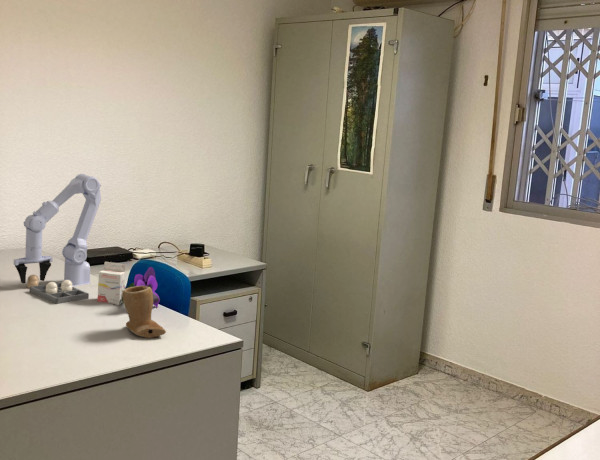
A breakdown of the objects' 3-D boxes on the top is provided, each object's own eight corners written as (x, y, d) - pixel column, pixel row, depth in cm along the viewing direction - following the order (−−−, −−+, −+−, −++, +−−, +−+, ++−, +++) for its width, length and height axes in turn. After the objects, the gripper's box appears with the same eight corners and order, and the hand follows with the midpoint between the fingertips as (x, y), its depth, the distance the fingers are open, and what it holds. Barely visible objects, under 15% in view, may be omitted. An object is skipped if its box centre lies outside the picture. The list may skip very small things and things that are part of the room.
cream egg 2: (68, 292, 248) (68, 278, 247) (74, 294, 246) (74, 280, 245) (58, 293, 245) (59, 279, 244) (64, 296, 242) (64, 281, 242)
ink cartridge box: (96, 302, 240) (98, 263, 237) (102, 299, 244) (103, 261, 242) (119, 305, 239) (121, 266, 236) (124, 302, 244) (126, 263, 241)
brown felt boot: (116, 326, 216) (118, 282, 213) (151, 323, 222) (153, 280, 220) (129, 341, 203) (132, 295, 201) (166, 338, 209) (169, 292, 207)
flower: (117, 323, 234) (147, 312, 230) (102, 284, 234) (132, 273, 230) (140, 313, 248) (168, 303, 243) (126, 277, 248) (154, 265, 243)
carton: (61, 288, 254) (61, 282, 253) (88, 299, 242) (88, 293, 242) (29, 293, 244) (29, 286, 244) (56, 305, 232) (56, 298, 232)
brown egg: (35, 286, 253) (35, 273, 252) (40, 289, 250) (40, 275, 250) (25, 288, 250) (25, 274, 249) (30, 290, 247) (30, 276, 246)
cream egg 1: (53, 294, 243) (53, 280, 242) (59, 296, 241) (59, 282, 240) (43, 295, 240) (43, 281, 239) (49, 298, 238) (49, 283, 237)
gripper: (46, 243, 256) (45, 277, 258) (9, 246, 244) (9, 281, 247) (55, 246, 251) (54, 281, 253) (19, 250, 240) (18, 285, 242)
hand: (32, 281), depth 250 cm, fingers open, 7 cm apart
